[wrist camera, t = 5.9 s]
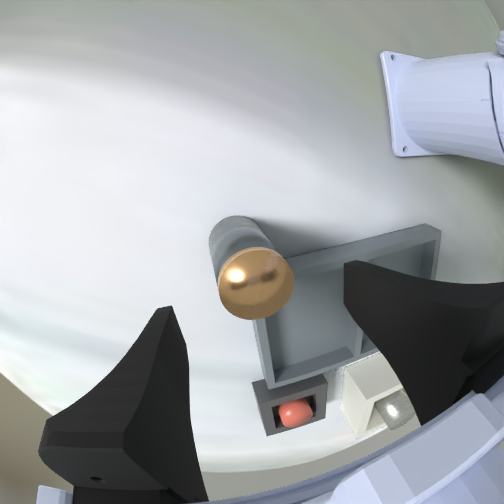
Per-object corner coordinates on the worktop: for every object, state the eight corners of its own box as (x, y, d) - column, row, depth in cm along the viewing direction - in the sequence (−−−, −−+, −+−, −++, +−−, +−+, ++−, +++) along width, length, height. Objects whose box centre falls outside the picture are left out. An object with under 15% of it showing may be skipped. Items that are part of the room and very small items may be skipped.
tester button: (305, 389, 23) (312, 405, 21) (305, 405, 24) (312, 421, 22) (275, 398, 23) (281, 415, 21) (277, 414, 24) (283, 430, 22)
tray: (425, 223, 21) (440, 231, 19) (412, 319, 25) (423, 330, 23) (242, 268, 19) (248, 282, 17) (262, 373, 23) (268, 389, 21)
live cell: (258, 210, 18) (290, 243, 12) (265, 260, 19) (296, 309, 13) (203, 222, 17) (211, 262, 12) (215, 271, 18) (227, 327, 13)
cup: (408, 340, 26) (433, 365, 22) (395, 385, 29) (414, 409, 25) (344, 367, 25) (366, 399, 21) (339, 410, 28) (356, 439, 24)
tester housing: (316, 363, 24) (327, 382, 22) (316, 400, 26) (325, 417, 24) (251, 382, 23) (258, 403, 21) (260, 417, 25) (266, 436, 23)
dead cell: (391, 365, 26) (421, 402, 21) (386, 384, 28) (412, 419, 22) (365, 377, 26) (393, 417, 20) (361, 396, 27) (386, 434, 22)
